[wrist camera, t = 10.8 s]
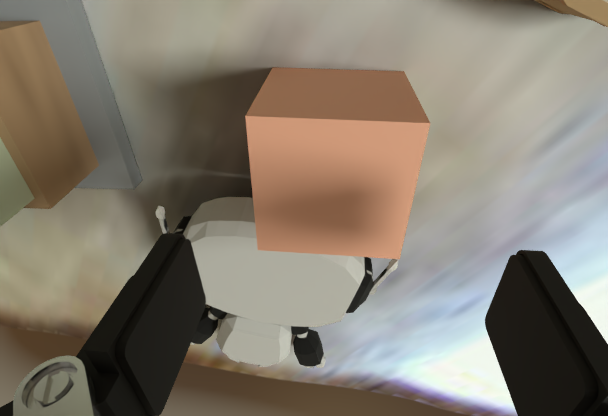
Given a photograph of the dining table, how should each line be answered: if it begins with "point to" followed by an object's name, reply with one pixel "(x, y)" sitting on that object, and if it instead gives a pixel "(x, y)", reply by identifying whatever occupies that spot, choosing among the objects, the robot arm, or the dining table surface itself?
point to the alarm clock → (580, 8)
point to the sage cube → (11, 187)
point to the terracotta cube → (334, 160)
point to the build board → (83, 86)
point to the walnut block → (40, 116)
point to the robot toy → (267, 286)
